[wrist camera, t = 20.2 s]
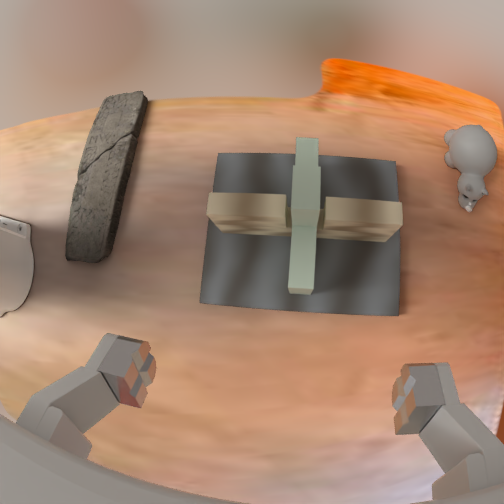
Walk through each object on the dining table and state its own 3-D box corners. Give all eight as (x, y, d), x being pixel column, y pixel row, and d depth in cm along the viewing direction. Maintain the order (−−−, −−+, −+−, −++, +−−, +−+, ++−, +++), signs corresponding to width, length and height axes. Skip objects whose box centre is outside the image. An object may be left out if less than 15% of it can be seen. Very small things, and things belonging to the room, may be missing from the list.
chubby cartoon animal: (433, 205, 41) (455, 208, 33) (440, 125, 39) (461, 113, 30) (474, 213, 40) (500, 219, 31) (479, 136, 37) (506, 128, 29)
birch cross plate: (202, 303, 40) (177, 298, 32) (220, 158, 44) (203, 123, 35) (395, 316, 36) (420, 314, 28) (393, 166, 40) (411, 132, 32)
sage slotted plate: (310, 294, 37) (316, 283, 25) (289, 293, 37) (286, 281, 25) (315, 168, 40) (320, 111, 28) (297, 167, 41) (295, 110, 28)
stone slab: (55, 258, 43) (97, 92, 48) (67, 261, 46) (105, 101, 51) (106, 264, 42) (146, 83, 46) (117, 267, 45) (153, 94, 49)
